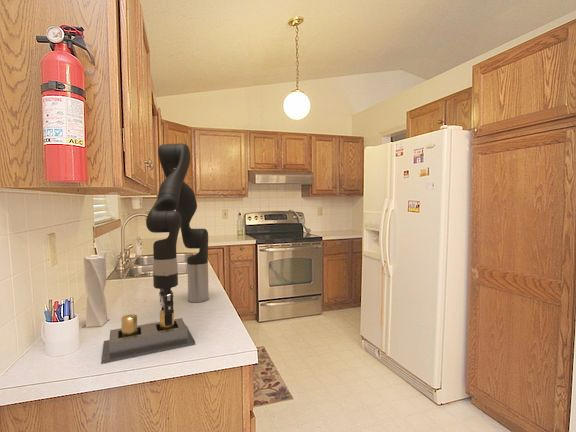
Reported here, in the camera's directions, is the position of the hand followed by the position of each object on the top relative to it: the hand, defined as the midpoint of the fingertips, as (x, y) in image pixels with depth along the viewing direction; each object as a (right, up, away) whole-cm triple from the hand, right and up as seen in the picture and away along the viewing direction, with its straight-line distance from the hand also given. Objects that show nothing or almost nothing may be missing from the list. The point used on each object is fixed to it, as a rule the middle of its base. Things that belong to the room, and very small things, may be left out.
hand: (166, 320), depth 105 cm
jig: (-5, -7, -2) cm, 9 cm away
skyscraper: (-32, -7, +15) cm, 36 cm away
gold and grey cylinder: (0, -6, 0) cm, 6 cm away
